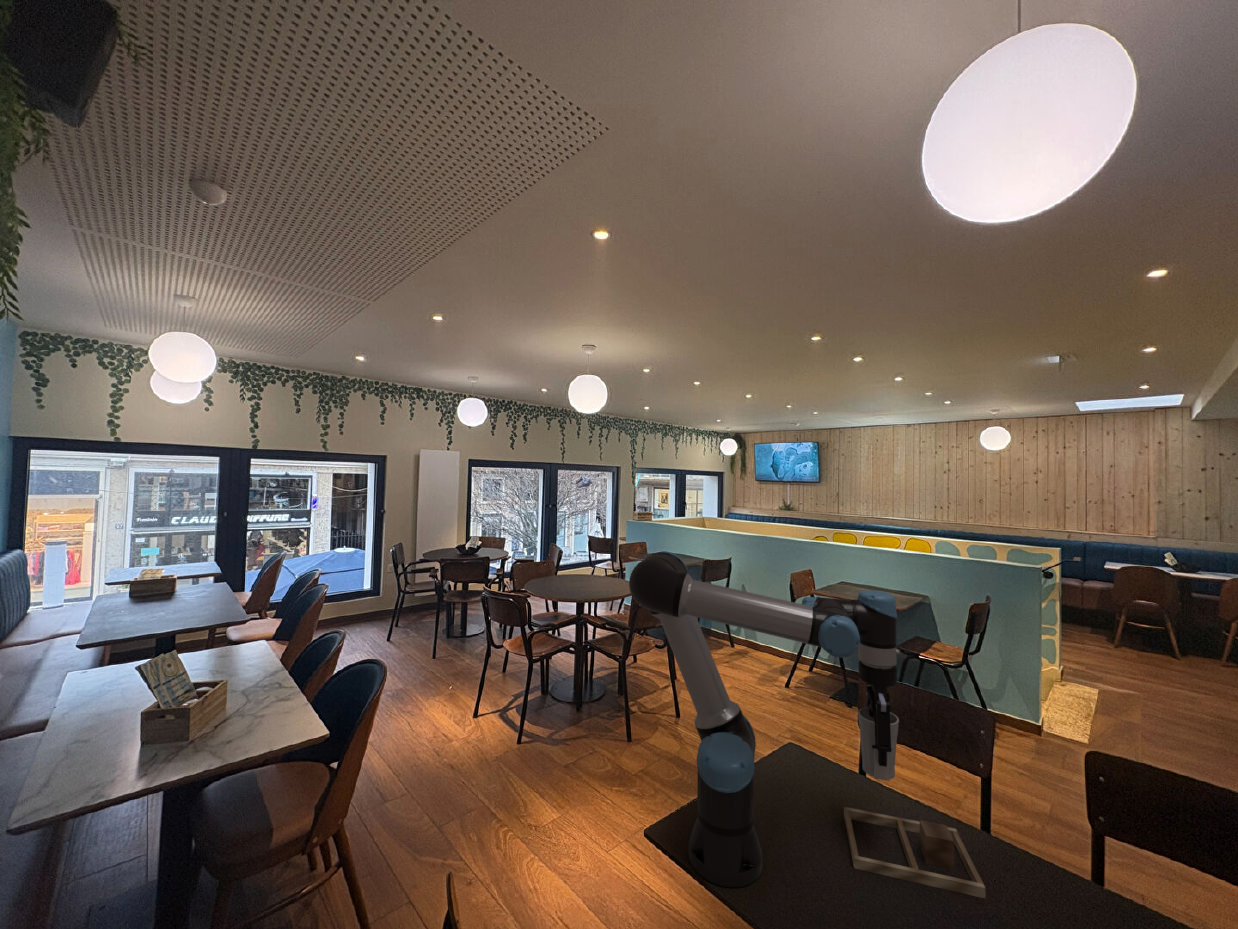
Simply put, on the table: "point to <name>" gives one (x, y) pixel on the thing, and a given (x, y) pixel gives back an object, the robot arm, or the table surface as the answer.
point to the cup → (869, 739)
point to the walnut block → (936, 845)
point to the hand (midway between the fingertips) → (878, 768)
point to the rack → (911, 856)
